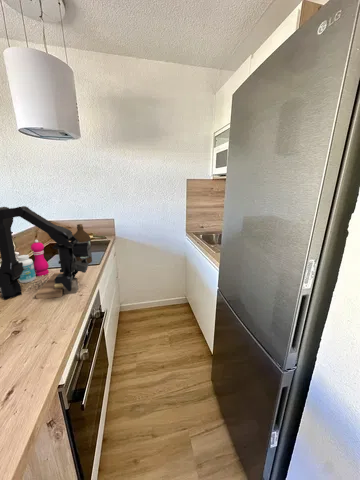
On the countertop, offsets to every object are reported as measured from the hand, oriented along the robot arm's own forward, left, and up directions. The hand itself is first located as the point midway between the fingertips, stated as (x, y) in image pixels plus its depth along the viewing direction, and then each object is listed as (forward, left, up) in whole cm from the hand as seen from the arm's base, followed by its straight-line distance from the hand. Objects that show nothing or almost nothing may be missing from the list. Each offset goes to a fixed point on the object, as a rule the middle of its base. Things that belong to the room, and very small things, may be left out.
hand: (71, 288), depth 98 cm
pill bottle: (-8, +30, -2) cm, 32 cm away
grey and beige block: (-1, +1, -2) cm, 2 cm away
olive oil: (+24, +32, -2) cm, 40 cm away
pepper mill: (0, +33, -2) cm, 33 cm away
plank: (-1, +11, -2) cm, 11 cm away
